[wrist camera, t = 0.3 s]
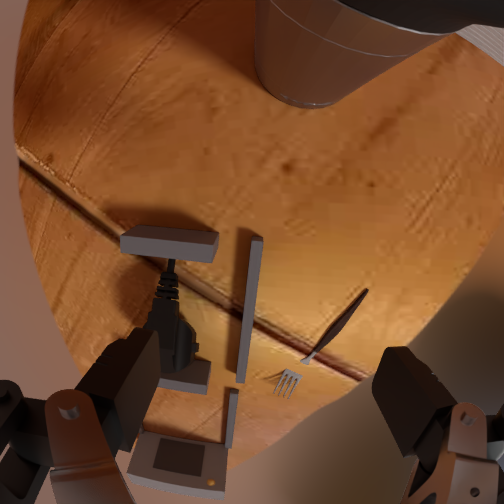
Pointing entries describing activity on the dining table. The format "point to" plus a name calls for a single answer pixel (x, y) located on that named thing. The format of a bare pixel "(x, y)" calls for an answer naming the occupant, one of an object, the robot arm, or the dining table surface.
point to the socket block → (183, 461)
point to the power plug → (171, 325)
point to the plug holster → (200, 250)
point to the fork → (321, 344)
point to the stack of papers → (486, 39)
